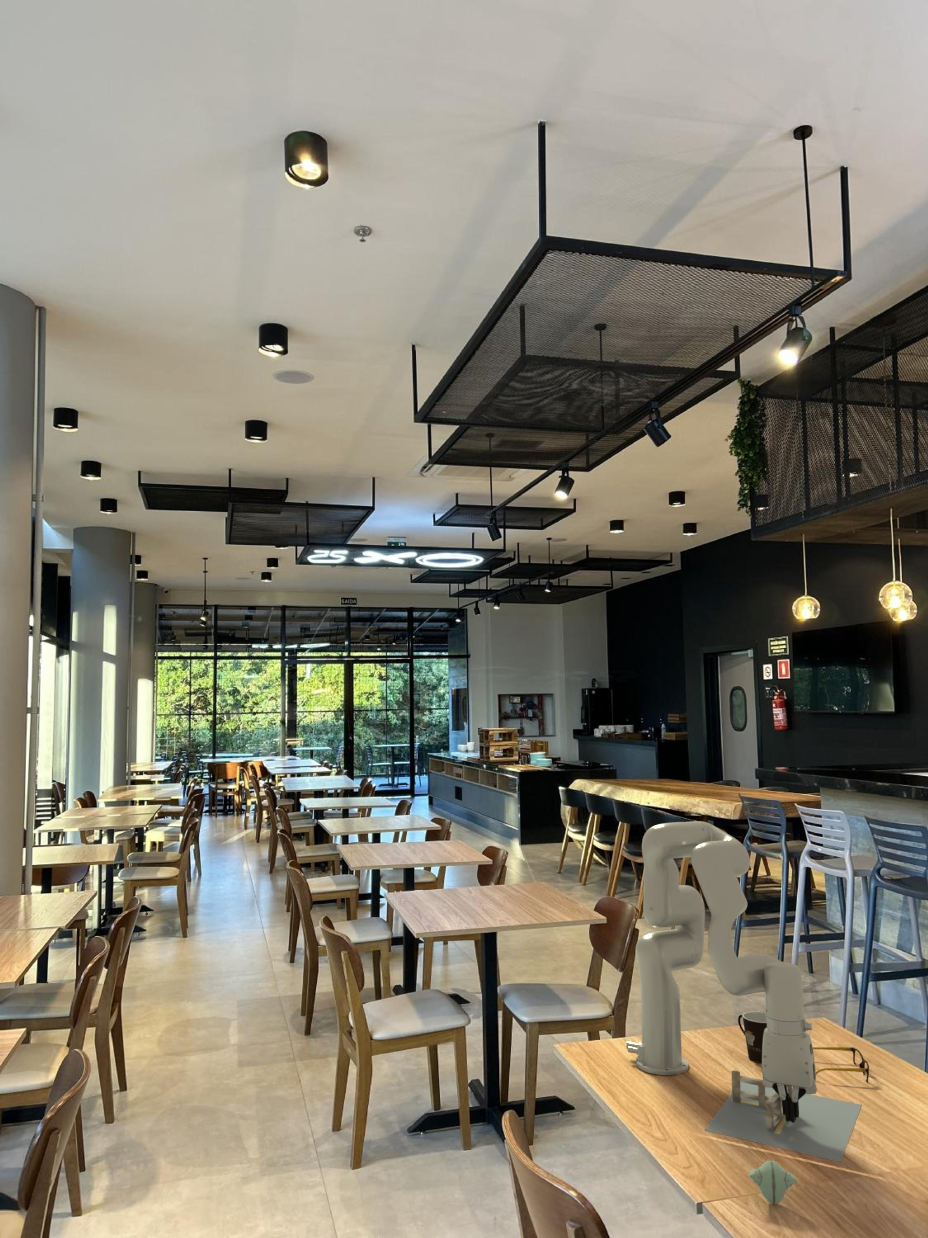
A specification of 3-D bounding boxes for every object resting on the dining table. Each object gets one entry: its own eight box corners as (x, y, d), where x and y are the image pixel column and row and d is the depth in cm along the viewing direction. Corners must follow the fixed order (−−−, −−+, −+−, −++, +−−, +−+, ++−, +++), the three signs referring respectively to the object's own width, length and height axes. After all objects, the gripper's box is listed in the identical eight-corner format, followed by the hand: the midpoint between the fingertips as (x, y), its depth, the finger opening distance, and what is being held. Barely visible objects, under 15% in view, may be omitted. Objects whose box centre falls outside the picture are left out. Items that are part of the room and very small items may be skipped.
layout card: (704, 1132, 182) (704, 1129, 182) (741, 1082, 208) (741, 1080, 208) (840, 1164, 169) (840, 1161, 169) (861, 1107, 194) (861, 1104, 194)
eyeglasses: (873, 1086, 207) (872, 1068, 207) (808, 1082, 209) (807, 1064, 210) (858, 1063, 220) (857, 1046, 221) (796, 1060, 223) (796, 1043, 224)
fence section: (731, 1101, 196) (730, 1071, 197) (733, 1098, 198) (732, 1068, 198) (792, 1114, 190) (790, 1082, 190) (793, 1111, 191) (792, 1080, 192)
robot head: (750, 1207, 154) (749, 1165, 155) (748, 1195, 158) (746, 1154, 159) (799, 1212, 152) (797, 1170, 153) (795, 1200, 156) (793, 1159, 157)
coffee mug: (785, 1065, 218) (783, 1023, 219) (749, 1065, 218) (748, 1022, 219) (769, 1048, 230) (767, 1008, 231) (736, 1048, 230) (734, 1008, 231)
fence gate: (783, 1110, 190) (782, 1086, 191) (789, 1111, 190) (788, 1088, 190) (765, 1128, 182) (764, 1103, 183) (771, 1129, 181) (770, 1104, 182)
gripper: (826, 1026, 185) (832, 1120, 182) (753, 1016, 193) (758, 1106, 190) (820, 1036, 179) (827, 1134, 176) (745, 1025, 186) (749, 1119, 184)
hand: (791, 1119), depth 183 cm, fingers closed
